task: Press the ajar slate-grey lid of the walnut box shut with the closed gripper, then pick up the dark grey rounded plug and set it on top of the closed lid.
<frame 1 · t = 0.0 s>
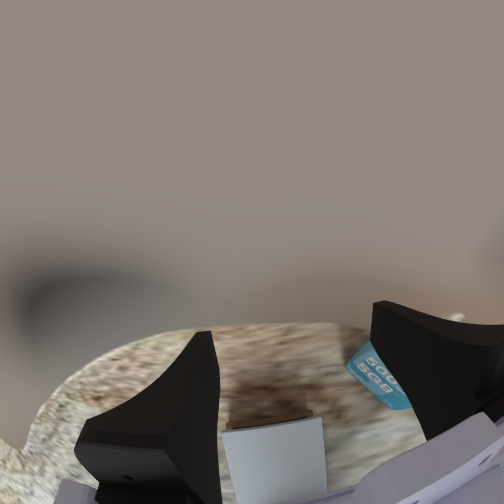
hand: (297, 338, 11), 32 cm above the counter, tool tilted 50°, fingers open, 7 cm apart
lid: (278, 470, 27), point 6 cm above the counter, hinge at 20.0°
data package: (376, 379, 39), on the counter
box: (275, 459, 33), on the counter
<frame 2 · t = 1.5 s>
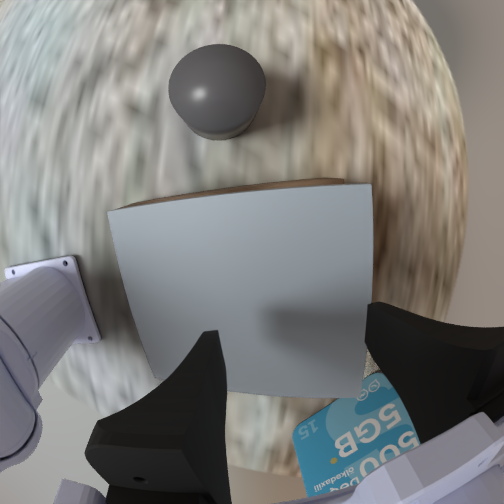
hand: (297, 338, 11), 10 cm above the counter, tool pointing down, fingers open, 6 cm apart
lid: (234, 308, 15), point 6 cm above the counter, hinge at 20.0°
dark grey rounded plug: (219, 105, 18), on the counter
data package: (342, 406, 27), on the counter
box: (239, 269, 21), on the counter
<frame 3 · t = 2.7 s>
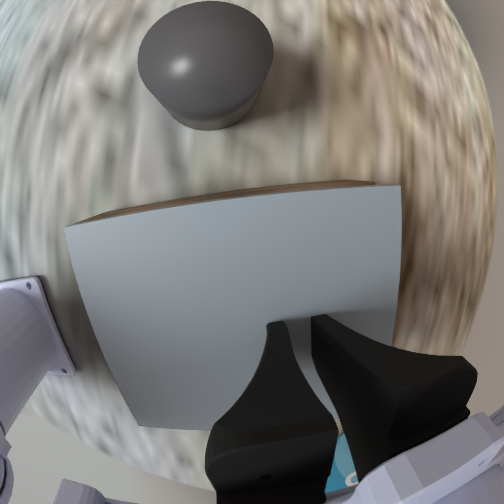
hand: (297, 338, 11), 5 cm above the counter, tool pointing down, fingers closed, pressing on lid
lid: (240, 339, 12), point 5 cm above the counter, hinge at 6.1°, touching gripper
dark grey rounded plug: (209, 86, 13), on the counter
data package: (352, 436, 22), on the counter
box: (236, 296, 16), on the counter
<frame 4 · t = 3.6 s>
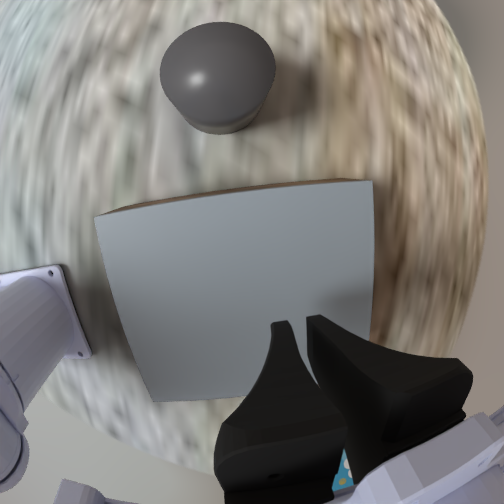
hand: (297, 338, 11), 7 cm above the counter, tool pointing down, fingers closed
lid: (247, 308, 15), point 4 cm above the counter, hinge at -0.2°
dark grey rounded plug: (220, 95, 15), on the counter
data package: (351, 422, 24), on the counter
box: (243, 281, 18), on the counter
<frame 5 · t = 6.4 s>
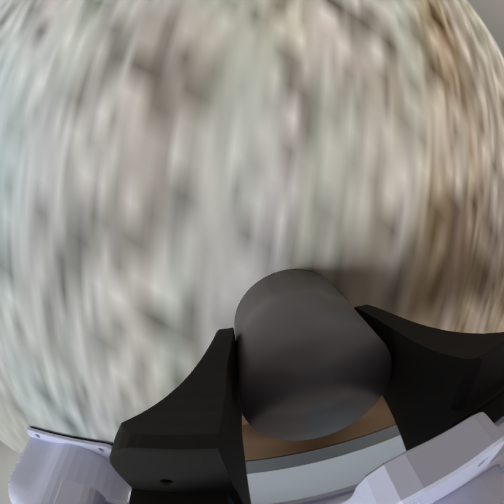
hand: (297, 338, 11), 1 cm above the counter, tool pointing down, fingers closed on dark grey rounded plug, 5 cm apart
lid: (306, 497, 12), point 4 cm above the counter, hinge at -0.2°
dark grey rounded plug: (290, 321, 13), on the counter, touching gripper
box: (296, 455, 16), on the counter
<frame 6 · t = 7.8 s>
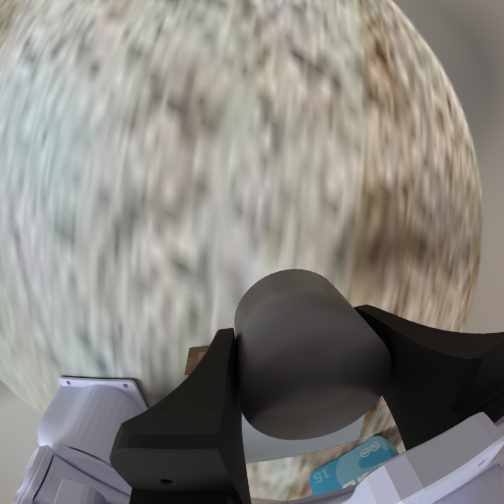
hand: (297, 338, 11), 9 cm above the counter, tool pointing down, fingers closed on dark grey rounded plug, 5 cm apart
lid: (287, 418, 20), point 4 cm above the counter, hinge at -0.2°
dark grey rounded plug: (290, 321, 13), point 8 cm above the counter, touching gripper
data package: (349, 456, 29), on the counter
box: (279, 389, 24), on the counter
when the fingers open (7 cm above the counter, at t = 9.6 s): dark grey rounded plug drops 1 cm, resting on lid.
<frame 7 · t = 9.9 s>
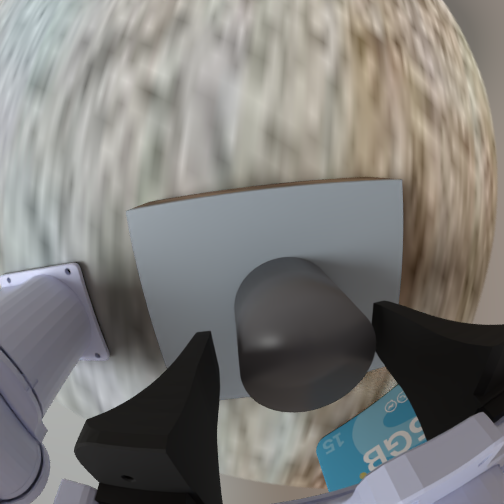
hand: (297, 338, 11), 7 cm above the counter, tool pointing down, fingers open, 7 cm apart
lid: (283, 304, 15), point 4 cm above the counter, hinge at -0.2°, touching dark grey rounded plug
dark grey rounded plug: (285, 305, 14), point 4 cm above the counter, touching lid
data package: (367, 418, 24), on the counter
box: (272, 278, 18), on the counter
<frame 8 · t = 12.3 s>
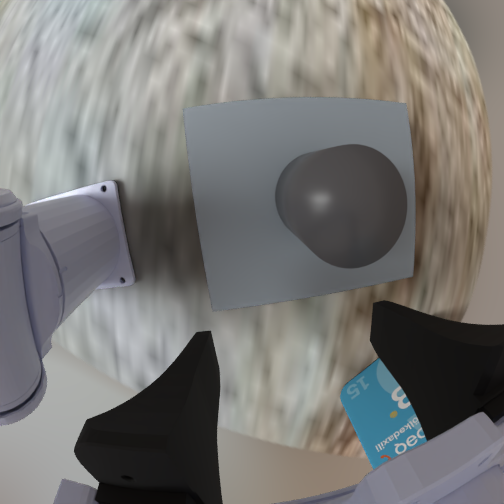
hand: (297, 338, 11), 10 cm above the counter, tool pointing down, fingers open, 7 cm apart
lid: (317, 198, 16), point 4 cm above the counter, hinge at -0.2°, touching dark grey rounded plug
dark grey rounded plug: (319, 196, 16), point 4 cm above the counter, touching lid
data package: (388, 363, 25), on the counter
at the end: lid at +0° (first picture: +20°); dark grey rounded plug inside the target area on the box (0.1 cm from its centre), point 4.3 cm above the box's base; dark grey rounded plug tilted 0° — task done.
